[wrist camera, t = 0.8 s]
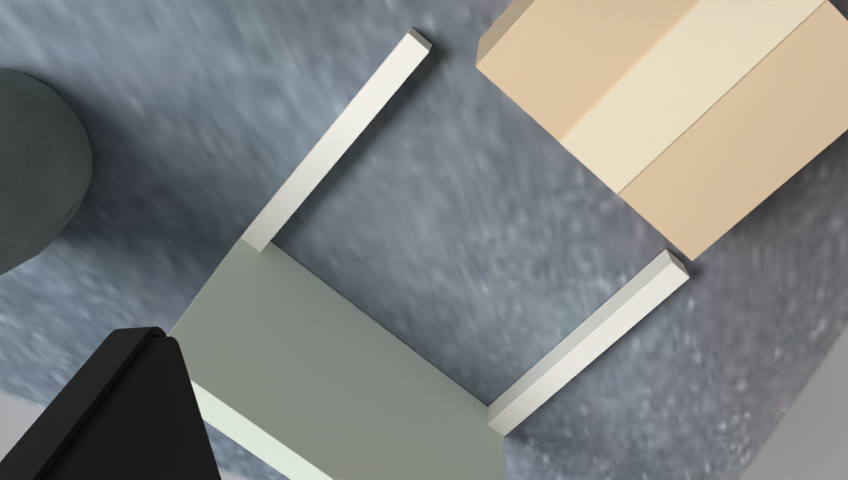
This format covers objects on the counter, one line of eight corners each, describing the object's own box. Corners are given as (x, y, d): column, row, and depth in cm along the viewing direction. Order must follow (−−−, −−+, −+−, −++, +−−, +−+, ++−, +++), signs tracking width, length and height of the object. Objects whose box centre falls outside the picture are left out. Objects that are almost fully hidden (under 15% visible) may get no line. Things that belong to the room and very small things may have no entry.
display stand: (411, 27, 35) (371, 92, 24) (683, 263, 38) (754, 413, 28) (236, 241, 40) (138, 374, 29) (489, 431, 44) (485, 613, 33)
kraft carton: (647, -152, 31) (678, -159, 26) (840, 49, 34) (906, 81, 28) (479, 38, 35) (475, 67, 30) (664, 206, 38) (692, 262, 32)
